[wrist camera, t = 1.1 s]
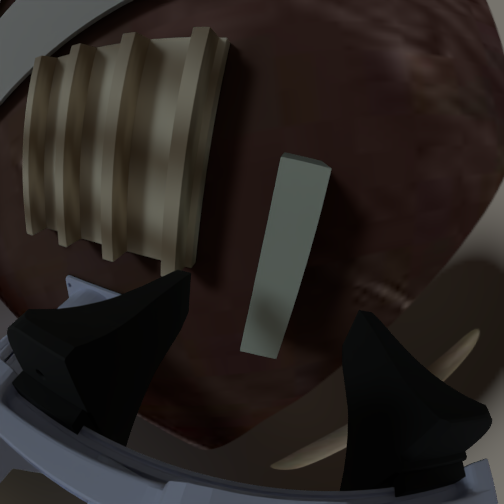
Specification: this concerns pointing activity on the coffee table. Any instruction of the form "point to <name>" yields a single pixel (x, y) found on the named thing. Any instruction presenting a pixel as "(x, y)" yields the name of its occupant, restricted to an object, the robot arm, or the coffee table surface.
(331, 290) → the coffee table surface
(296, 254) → the clay strip
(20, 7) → the grey rectangular block
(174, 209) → the ribbed tan slab
